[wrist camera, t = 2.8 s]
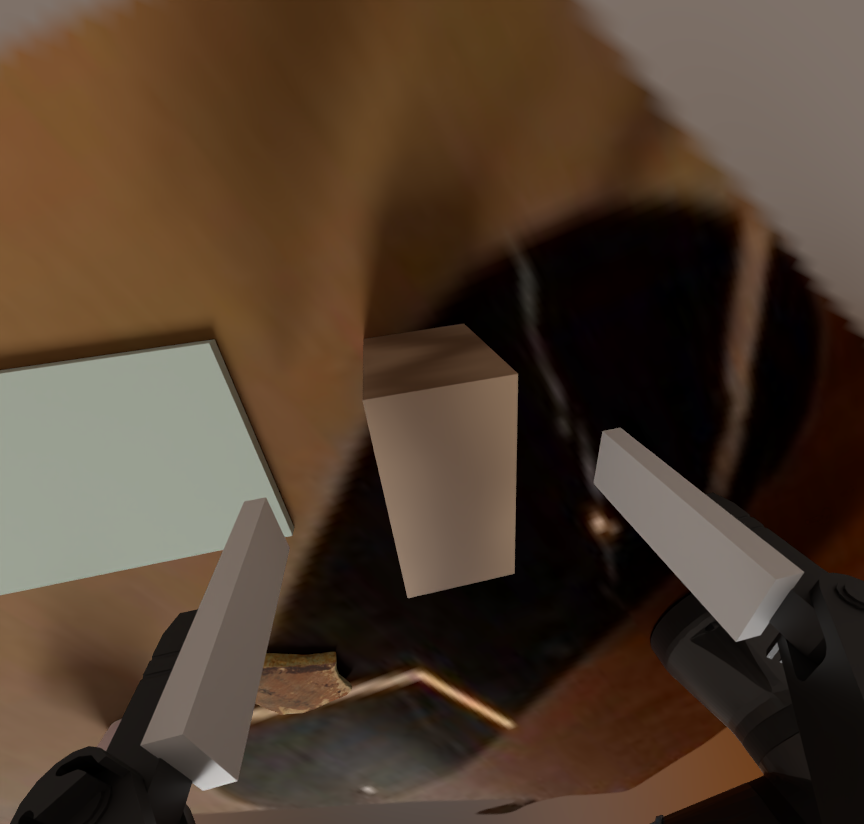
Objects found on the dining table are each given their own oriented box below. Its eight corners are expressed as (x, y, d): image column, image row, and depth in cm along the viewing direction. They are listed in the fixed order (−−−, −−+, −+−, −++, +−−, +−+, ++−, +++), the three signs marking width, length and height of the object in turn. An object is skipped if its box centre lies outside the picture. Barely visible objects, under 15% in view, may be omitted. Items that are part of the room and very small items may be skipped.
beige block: (463, 323, 17) (518, 374, 11) (472, 478, 22) (514, 573, 16) (363, 338, 17) (362, 400, 10) (395, 493, 21) (407, 598, 15)
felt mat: (214, 339, 15) (209, 343, 15) (294, 527, 21) (292, 535, 21) (-259, 407, 14) (-284, 414, 13) (-30, 593, 19) (-41, 603, 19)
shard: (198, 647, 25) (187, 674, 24) (287, 605, 25) (282, 630, 23) (288, 698, 31) (284, 724, 29) (363, 665, 30) (362, 689, 29)
